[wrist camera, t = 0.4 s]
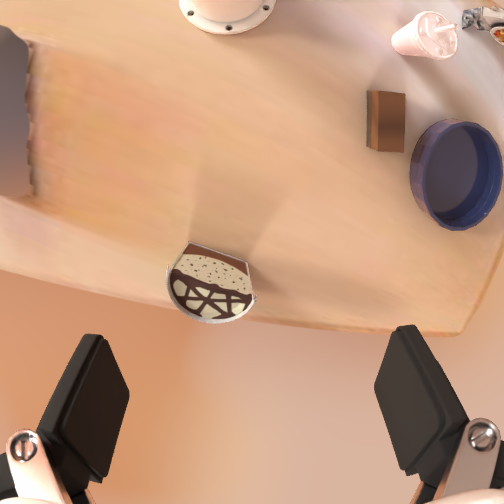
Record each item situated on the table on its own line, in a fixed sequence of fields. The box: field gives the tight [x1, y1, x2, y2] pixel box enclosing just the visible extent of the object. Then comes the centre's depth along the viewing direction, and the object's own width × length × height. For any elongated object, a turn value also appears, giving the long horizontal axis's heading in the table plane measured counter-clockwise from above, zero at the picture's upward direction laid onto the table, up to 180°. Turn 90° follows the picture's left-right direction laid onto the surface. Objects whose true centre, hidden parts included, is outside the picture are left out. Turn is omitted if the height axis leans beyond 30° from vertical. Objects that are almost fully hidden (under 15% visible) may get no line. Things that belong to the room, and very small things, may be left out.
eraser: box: [367, 91, 405, 152], centre depth 36 cm, size 8×4×4 cm, turn 3°
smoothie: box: [391, 11, 458, 60], centre depth 27 cm, size 6×6×14 cm
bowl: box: [410, 119, 503, 231], centre depth 40 cm, size 17×17×4 cm
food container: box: [166, 241, 258, 324], centre depth 44 cm, size 12×6×10 cm, turn 68°
